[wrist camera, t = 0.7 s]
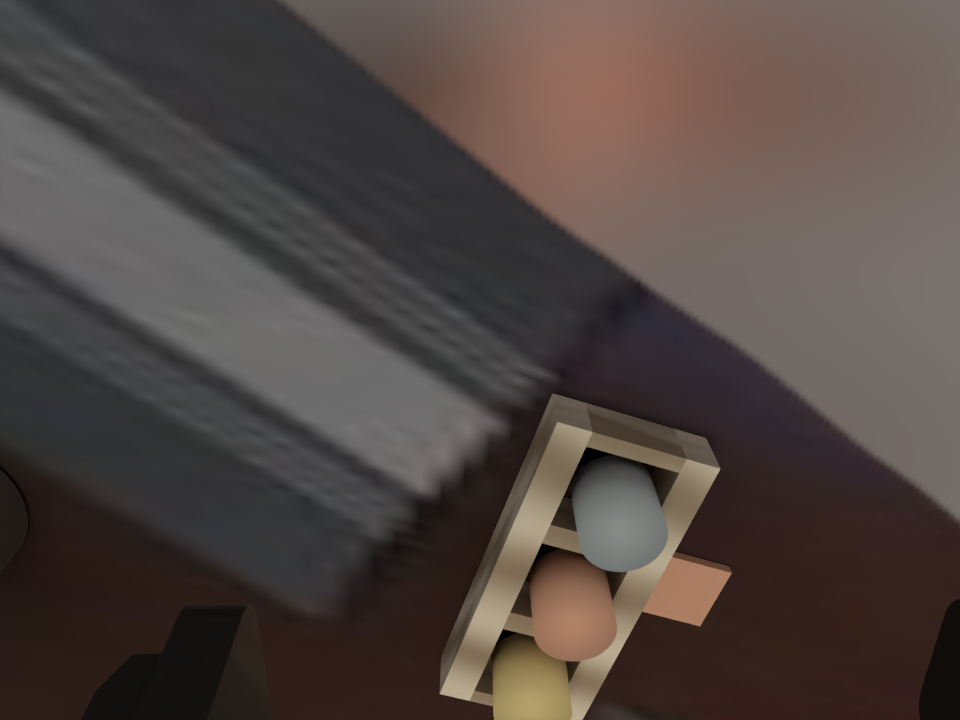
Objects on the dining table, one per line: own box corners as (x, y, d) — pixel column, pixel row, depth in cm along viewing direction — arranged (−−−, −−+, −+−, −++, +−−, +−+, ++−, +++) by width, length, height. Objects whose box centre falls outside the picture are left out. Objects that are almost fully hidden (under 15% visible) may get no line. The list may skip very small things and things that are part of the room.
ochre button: (550, 691, 52) (555, 747, 48) (482, 675, 51) (483, 730, 47) (576, 641, 50) (584, 695, 46) (506, 623, 49) (508, 677, 45)
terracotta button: (589, 616, 49) (598, 669, 45) (518, 597, 48) (521, 650, 45) (618, 559, 47) (630, 610, 43) (544, 540, 46) (550, 590, 43)
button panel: (573, 687, 54) (578, 726, 52) (441, 655, 53) (439, 693, 50) (705, 437, 46) (720, 468, 43) (552, 393, 45) (557, 421, 42)
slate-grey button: (633, 531, 46) (646, 580, 43) (558, 511, 45) (565, 559, 42) (666, 467, 44) (683, 514, 41) (588, 445, 44) (598, 490, 40)
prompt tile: (697, 619, 52) (699, 626, 51) (632, 602, 51) (633, 609, 51) (728, 566, 50) (731, 572, 49) (661, 548, 49) (663, 554, 49)
